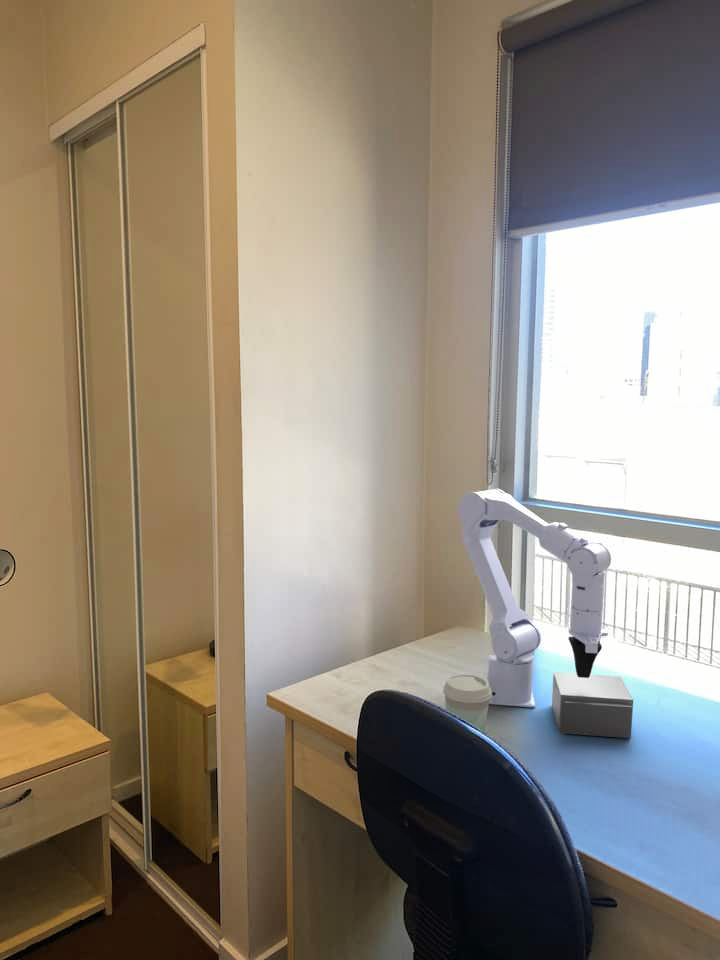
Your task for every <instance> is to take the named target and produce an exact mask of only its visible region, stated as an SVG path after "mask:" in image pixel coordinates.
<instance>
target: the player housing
mask: <svg viewBox="0 0 720 960" xmlns="http://www.w3.org/2000/svg"><path fill="white" fill-rule="evenodd" d="M551 697H552V698H551V700H552V701H551V709H552V710H553V715H554V718H555V722H556V725H557V728H558V731H560V732H562V725H563V706H564V700H570V701H584V702H598V703H611V704H625V705H631V706H632V714H633V709H634V699H633V697H632V695H631V693H630V691H629V690H628V688H627V686H626V684H625V682H624V680H623V678H622V677H621V676H615V675H601V674H600V675H599V674H590V676H589V678H581V677H578V676H577V673H573V672H572V673H571V672H557V671H554V672H553V676H552V694H551ZM632 725H633V715H632V716H631V729H632ZM630 737H632V731H631V732H630Z"/></svg>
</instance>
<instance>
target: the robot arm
mask: <svg viewBox="0 0 720 960" xmlns="http://www.w3.org/2000/svg"><path fill="white" fill-rule="evenodd" d="M456 510H457V514H458V516H459V518H460V520H461V537H462V541H463V544H464V546H465V548H466V551H467V553H468V556H469V559H470V561H471V563H472V566H473V569H474V571H475V574H476V576H477V579H478V581H479V582H478V583H479V585H480V586H481V589H482V591H483V595H484V596H485V600H486V601H487V604H488V607H489V610H490V611H491V614H492V615H491V616H492V619H491V621H490V624H489V626H488V631H489V633H490V634H489V635H490V638H491V640H490V644H491V648H492V651H493V653H494V654H493V655H487V661H486V662H487V665H486V666H487V667H486V680H487V681H488V683H489V687H490V689H491V693H492V696H491V698H490V699H489V705H496V706H497V705H498V706H510V707H523V708H535V707H536V704H535V699H534V694H533V673H534V657H535V651H536V650H537V649H538V648H539V647H540V645H541V641H542V637H541V633H540V630H539V628H538V627H537V626H536V625H535V624H534V622H532V619H531V618H530V616H529V615H530V614H528V613H527V612H525V610H523V609H521V608H520V607H519V606H518V604H517V601H516V599H515V596H514V594H513V591H512V589H511V587H510V583H509V581H508V579H507V576H506V574H505V571H504V569H503V567H502V564H501V561H500V559H499V557H498V553H497V551H496V549H495V546H494V544H493V541H492V539H491V535H492V533H493V531H494V529H495V528H496V526H497V525H498V524H499V522H500V521H502V520H503V521H508V522H509V523H511V524H513V525H515V526H516V527H518V528H520V529H522V530H523V531H525V532H527V533H528V534H530V535H532V536H534V537H536V538H537V539H538V543H539V546H540V547H541V548H542V549H544V550H545V551H547V552H549V553H550V554H551V555H553V556H554V557H556V558H557V559H559V560H561V562H564V563H565V564H567V568H568V569H569V570H568V571H569V572H570V573H571V577H572V579H571V581H572V582H571V599H570V601H571V602H570V618H569V619H570V620H569V627H568V634H569V635H571V636H569V637H568V638H567V639H568V642H569V643H570V645H571V649H572V652H573V659H574V666H575V674H577V676H578V677H581V678H589V676H590V675H592V674H591V673H592V670H593V666H594V663H595V660H596V658H597V656H598V654H599V653H600V652H601V651H602V649H603V648H602V647H603V646H602V644H601V641H600V640H601V639H602V638H603V637H608V635H609V632H608V630H607V629H605V628H603V627H602V625H603V612H604V611H603V608H604V594H605V593H604V591H605V575H606V574H605V571H607V570H608V569H609V568H610V565H611V562H612V557H611V556H612V555H611V554H610V553H611V552H610V551H609V549H608V548H607V547H606V546H605V545H603V544H602V543H601V542H597V541H592V542H589V539H588V538H587V537H585V536H582V537H581V536H580V535H578V534H576V533H575V532H573V531H572V530H570V529H568V527H569V525H568V524H566V523H564V522H560V523H559V522H552V523H548V522H546V521H545V520H544V519H542V518H541V517H539V516H537V515H536V514H535V513H534V512H532V511H531V510H529V509H528V508H527V507H525V506H523V505H522V504H521V503H519V502H518V501H517V500H515V499H514V497H513V496H512V495H511V494H510V493H509V494H508V493H506V492H505V491H504V490H502V489H500V488H491V489H488V490H481V491H470V492H467V493H466V494H464V495H463V496H462V497H461V500H460V502H459V504H458V507H457V508H456Z"/></svg>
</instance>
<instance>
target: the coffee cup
mask: <svg viewBox="0 0 720 960" xmlns="http://www.w3.org/2000/svg"><path fill="white" fill-rule="evenodd" d="M442 693H443V695H444V699H445V701H444V702H445V703H444V704H445V710H447V711H449V712H451V713H453V714H455V715H457V716H459V717H460V718H462V719H464V720H465V721H467V722H469V723H471V724H472V725H474V726H475V727H477V728H479V729H480V730H482V731H483V732H484V733H485V729H486V723H487V717H488V710H489V705H490V704H489V699H490V698H491V696H492V693H491V689H490V687H489V683H488V681H487V679H486V678H484V677H483V676H482V677H481V676H479V675H475V674H470V673H469V674H466V673H464V674H463V673H462V674H454V675H451V676H449V677H447V679H446V682H445V684H444V686H443V690H442Z"/></svg>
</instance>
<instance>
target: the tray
mask: <svg viewBox="0 0 720 960" xmlns="http://www.w3.org/2000/svg"><path fill="white" fill-rule="evenodd" d="M631 716H632V717H633V713H632V706H631V705H625V704H611V703H597V702H584V701H570V700H564V706H563V725H562V731H561V732H562V734H569V735H570V734H571V735H581V736H582V735H583V736H596V737H608V738H621V739H622V738H623V739H630V738H631V736H630V732H631V733H632V728H631Z"/></svg>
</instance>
